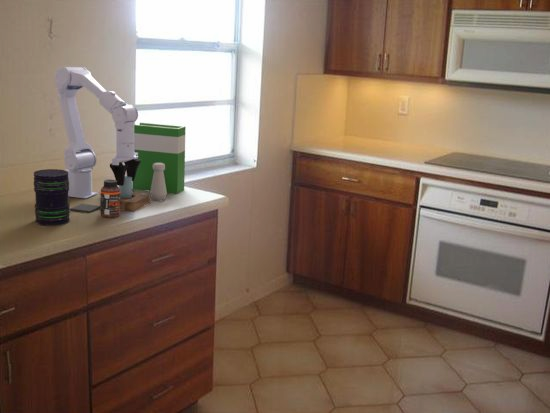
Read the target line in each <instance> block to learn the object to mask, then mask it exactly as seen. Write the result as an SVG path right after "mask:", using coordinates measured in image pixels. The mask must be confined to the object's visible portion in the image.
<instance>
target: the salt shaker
mask: <svg viewBox="0 0 550 413" xmlns="http://www.w3.org/2000/svg"><path fill="white" fill-rule="evenodd" d="M153 170H154V175H153V180H152V185H151V191H149V193H150V194H149V195H150V197H151V199H152V200H153V201H155V200H156V202H161V200H162V201H165V198H166V197H167V194H168V193H167V191H166V185H165V178H164V172H163V170H165V164H164V163H154V164H153Z"/></svg>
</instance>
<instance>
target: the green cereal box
mask: <svg viewBox="0 0 550 413" xmlns="http://www.w3.org/2000/svg"><path fill="white" fill-rule="evenodd" d="M134 152H136V153H138V158H137V159H139V160H141V162H140V164H139V166H138V168H137V171H136V175H135V180H134V181H132V190H136V191H137V190H138V191H144V190H149V191H148V192H150V191H151V185H152V180H153V175H154V170H153V164H154V163H164V164H165V170H163V172H164V178H165V185H166V191H167V194H172V193H173V194H172V195H178V194H180V193H181V192H183V191H184V190H185V175H186V174H185V173H186V172H185V170H186V169H185V167H186V162H185V161H186V160H185V159H186V126H182V125H174V124H163V123H162V124H161V123H150V122H149V123H148V122H139V124H134Z"/></svg>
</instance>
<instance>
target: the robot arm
mask: <svg viewBox="0 0 550 413" xmlns="http://www.w3.org/2000/svg"><path fill="white" fill-rule="evenodd" d="M53 77H54V82H55V84H56V93H57V94H56V95H57V98H58V104H59V106H60V107H59V108H60V111H61V115H62V119H63V124H64V129H65V132H66V137H67V141H68V145H67V146H66V148H65V149H64V151H63V152H64V153H63V154H64V166H65V168H66V169H65V171H68V177H69V191H68V198H70V197H71V198H79V199H88V198H91V197H93V196H96V195H97V194H98V192H95V191H93V178H92V177H93V175H92V174H93V170H94V167H95V166H96V164H97V155H96V153H95V152H94V150H93V147H92V145H91V144H90V143H88V142H87V141H86V138H85V135H84V130H83V125H82V121H81V117H80V116H81V115H80V113H79V108H78V104H77V99H76V95H77V93H79V92H80V91H81V90H82V89H83V88H85V89H86V90H87V91H88V92H90V93H91V94H92V95H94V96H95V97H96V98H98V100H99V101H98V102H99V105H100V106H102V108H104V109H105V110H107V112H108V113H109V114H111V118H112V120H113V122H114V127H115V131H116V135H115V138H116V155H115V156H114V157H113V158H112V159H111V163H109V168H110V170H111V171H112V173H113V176H114V180H116V181H117V186H119V185H120V186H123V185H124V180H125V176H129V177H132V181H134V180H135V175H136V171H137V168H138V166H139V164H140V162H141V160H139V159H137V158H138V153H136V152H134V125H135V122H136V121H137V120H138V118H139V112H138V109H137V108H136V107H135V105H133V104H128V103H126V101H125V100H123V99H121V98H120V97H119V96H118V94H117V92H116V91H112V90H106V89H105V88H104V87H103V86H102V85H101V84H100V83H99V82H98V81H97V80H96V79H95V78H94V77H93V76H92V73H91V71H90V70H88V69H87V68H86V67H85V66H59V67H58V68H57V70H56V71H55V73H54V75H53Z"/></svg>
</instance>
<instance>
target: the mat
mask: <svg viewBox="0 0 550 413" xmlns="http://www.w3.org/2000/svg"><path fill="white" fill-rule="evenodd" d="M97 210H101V206H100V205H94V204H90V203H89V204H87V203H80V204H78V205H75V206H73V207H70V212H71V211H72V212H79V213H87V214H90V213H93V212H94V211H97Z"/></svg>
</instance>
